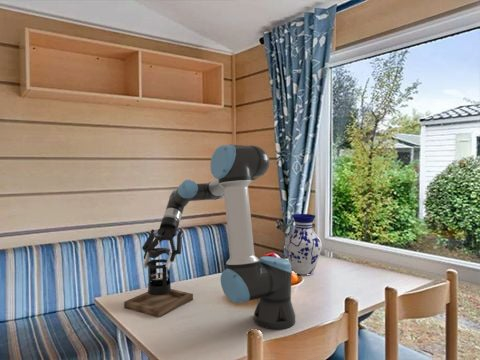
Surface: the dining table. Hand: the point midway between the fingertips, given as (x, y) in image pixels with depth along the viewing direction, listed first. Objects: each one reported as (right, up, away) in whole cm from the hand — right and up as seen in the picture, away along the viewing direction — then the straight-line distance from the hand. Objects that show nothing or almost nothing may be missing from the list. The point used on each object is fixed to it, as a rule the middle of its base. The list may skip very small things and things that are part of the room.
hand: (155, 267), depth 154 cm
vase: (+66, -14, +48) cm, 83 cm away
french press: (0, -11, +4) cm, 11 cm away
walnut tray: (+1, -16, +4) cm, 16 cm away
